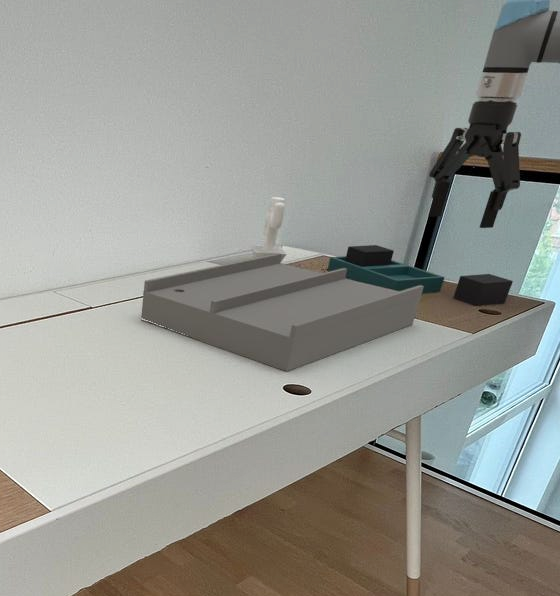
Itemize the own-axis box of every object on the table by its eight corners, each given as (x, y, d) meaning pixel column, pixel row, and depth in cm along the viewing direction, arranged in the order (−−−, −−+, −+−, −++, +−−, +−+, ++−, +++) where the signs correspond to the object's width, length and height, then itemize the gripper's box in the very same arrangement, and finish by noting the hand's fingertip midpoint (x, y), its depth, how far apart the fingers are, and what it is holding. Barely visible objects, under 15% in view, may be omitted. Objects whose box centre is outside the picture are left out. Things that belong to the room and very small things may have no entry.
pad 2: (504, 303, 140) (513, 280, 137) (475, 305, 137) (483, 283, 135) (481, 295, 144) (489, 273, 142) (452, 297, 142) (460, 275, 139)
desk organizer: (412, 324, 125) (424, 286, 121) (287, 371, 103) (296, 326, 99) (272, 287, 144) (278, 253, 141) (140, 320, 122) (144, 280, 118)
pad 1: (388, 271, 155) (394, 250, 153) (360, 272, 153) (365, 252, 150) (370, 264, 160) (375, 245, 157) (343, 266, 157) (348, 246, 155)
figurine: (277, 262, 165) (289, 194, 156) (284, 271, 157) (298, 201, 148) (247, 260, 165) (258, 193, 157) (253, 270, 157) (265, 199, 149)
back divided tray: (440, 291, 146) (444, 277, 144) (392, 295, 142) (397, 280, 140) (371, 267, 163) (374, 254, 161) (327, 270, 159) (330, 256, 158)
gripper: (431, 98, 136) (401, 212, 147) (539, 102, 116) (495, 233, 128) (459, 98, 138) (428, 211, 149) (570, 102, 118) (524, 231, 130)
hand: (459, 221), depth 139 cm, fingers open, 13 cm apart
